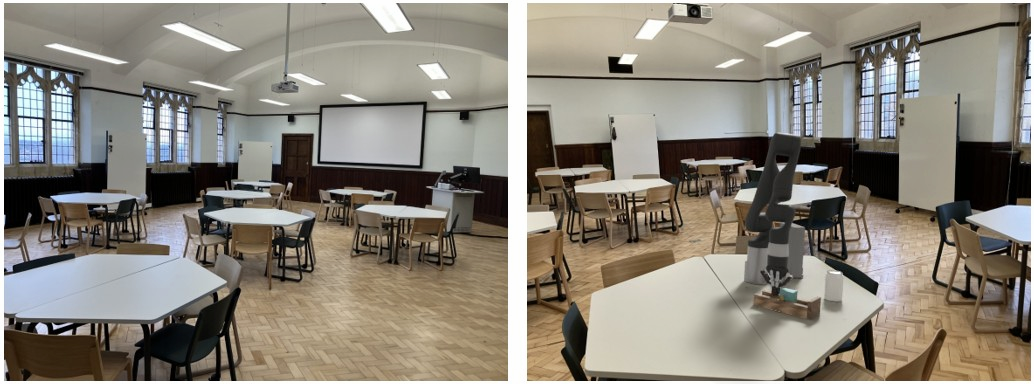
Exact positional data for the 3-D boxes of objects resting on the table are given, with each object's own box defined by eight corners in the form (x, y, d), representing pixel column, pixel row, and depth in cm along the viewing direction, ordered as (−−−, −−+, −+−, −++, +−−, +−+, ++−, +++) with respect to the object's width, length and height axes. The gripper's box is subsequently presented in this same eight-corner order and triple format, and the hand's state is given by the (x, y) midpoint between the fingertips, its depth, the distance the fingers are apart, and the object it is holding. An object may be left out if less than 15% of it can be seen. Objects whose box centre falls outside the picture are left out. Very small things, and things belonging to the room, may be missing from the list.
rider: (779, 301, 208) (780, 289, 207) (783, 299, 210) (784, 287, 210) (792, 305, 204) (792, 292, 203) (796, 302, 206) (797, 290, 206)
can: (844, 302, 216) (846, 274, 215) (827, 301, 217) (829, 273, 216) (838, 297, 222) (840, 270, 221) (821, 296, 224) (823, 269, 222)
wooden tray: (753, 304, 214) (754, 288, 213) (763, 300, 219) (764, 284, 219) (809, 320, 197) (811, 302, 196) (819, 314, 202) (821, 297, 201)
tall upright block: (803, 278, 252) (807, 227, 249) (791, 278, 252) (794, 227, 249) (789, 270, 265) (792, 222, 262) (777, 270, 265) (780, 222, 262)
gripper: (757, 252, 211) (754, 293, 213) (790, 258, 201) (787, 301, 203) (766, 249, 216) (763, 289, 218) (799, 255, 206) (796, 297, 208)
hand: (775, 295), depth 211 cm, fingers closed
